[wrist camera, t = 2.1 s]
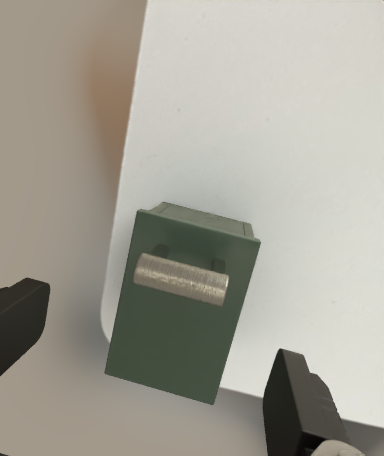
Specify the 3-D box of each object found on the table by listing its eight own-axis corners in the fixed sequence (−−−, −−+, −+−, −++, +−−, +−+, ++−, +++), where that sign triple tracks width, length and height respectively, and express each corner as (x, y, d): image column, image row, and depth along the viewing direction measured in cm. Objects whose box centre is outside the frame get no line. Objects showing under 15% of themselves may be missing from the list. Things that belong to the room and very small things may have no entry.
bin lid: (140, 208, 22) (110, 225, 16) (260, 239, 21) (269, 266, 16) (108, 367, 24) (73, 425, 19) (214, 397, 24) (208, 466, 18)
